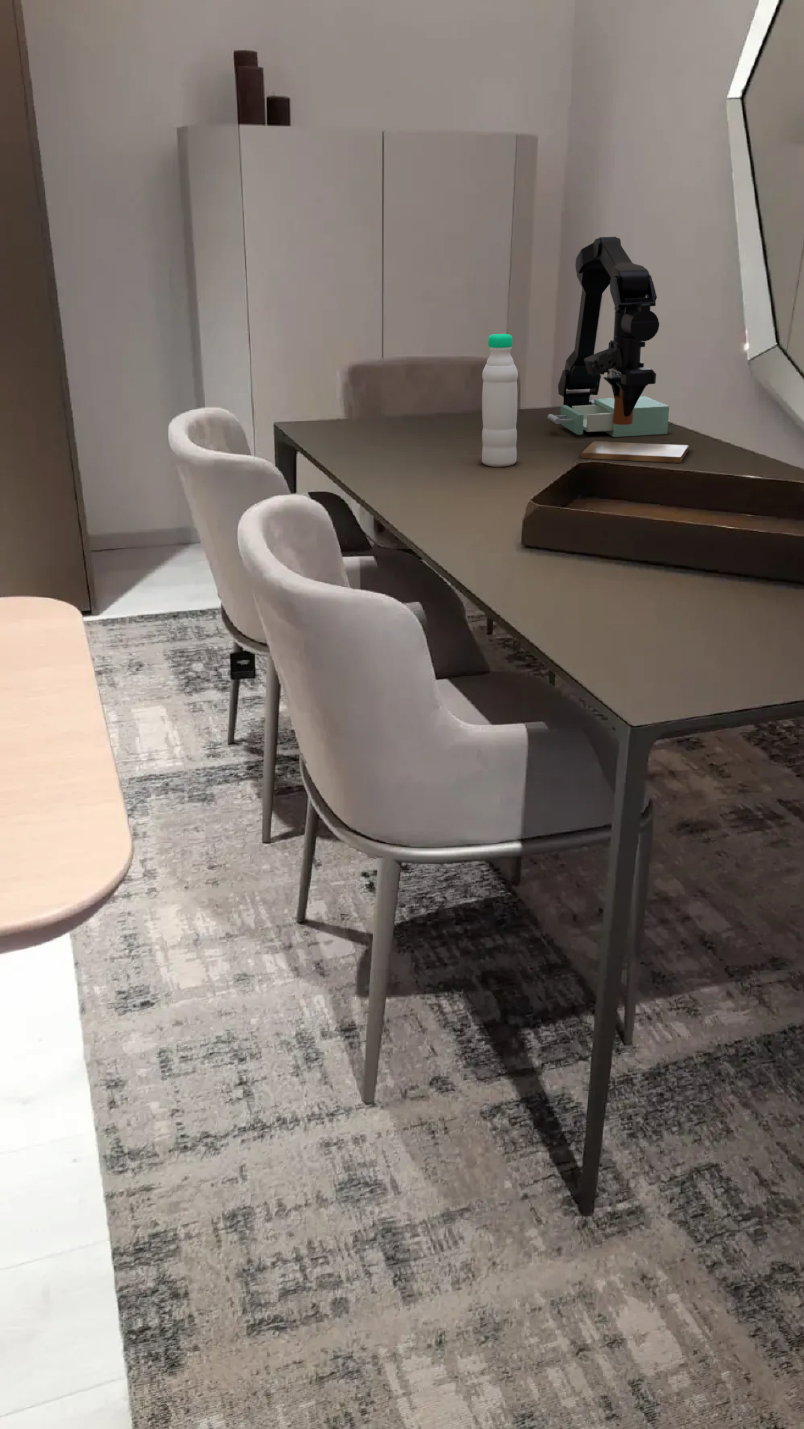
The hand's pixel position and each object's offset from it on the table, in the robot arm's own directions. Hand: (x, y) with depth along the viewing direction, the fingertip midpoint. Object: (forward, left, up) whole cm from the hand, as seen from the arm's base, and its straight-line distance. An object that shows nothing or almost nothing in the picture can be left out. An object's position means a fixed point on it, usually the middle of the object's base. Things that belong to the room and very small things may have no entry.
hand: (623, 414), depth 230 cm
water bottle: (-21, -19, -8) cm, 29 cm away
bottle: (0, 0, -2) cm, 2 cm away
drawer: (-12, +18, -7) cm, 23 cm away
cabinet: (-2, +23, -7) cm, 25 cm away
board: (+4, -4, -8) cm, 9 cm away
